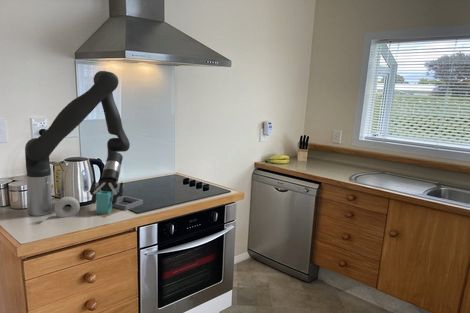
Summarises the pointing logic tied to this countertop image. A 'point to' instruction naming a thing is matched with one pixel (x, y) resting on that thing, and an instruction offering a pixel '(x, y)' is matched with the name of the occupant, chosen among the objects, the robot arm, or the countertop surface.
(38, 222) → the countertop surface
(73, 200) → the donut
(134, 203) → the grey square ring
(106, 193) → the sleeve
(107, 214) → the stake stand
